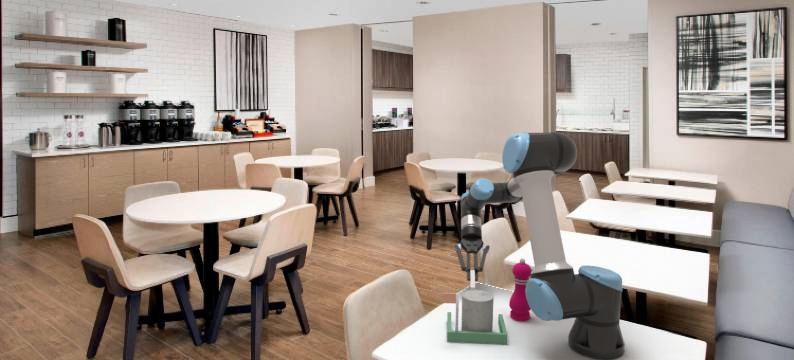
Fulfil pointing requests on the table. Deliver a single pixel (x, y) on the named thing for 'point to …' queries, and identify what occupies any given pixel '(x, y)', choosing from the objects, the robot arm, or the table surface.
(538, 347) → the table surface
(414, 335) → the table surface
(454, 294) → the putting stop
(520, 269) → the pepper mill
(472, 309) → the concrete cylinder
